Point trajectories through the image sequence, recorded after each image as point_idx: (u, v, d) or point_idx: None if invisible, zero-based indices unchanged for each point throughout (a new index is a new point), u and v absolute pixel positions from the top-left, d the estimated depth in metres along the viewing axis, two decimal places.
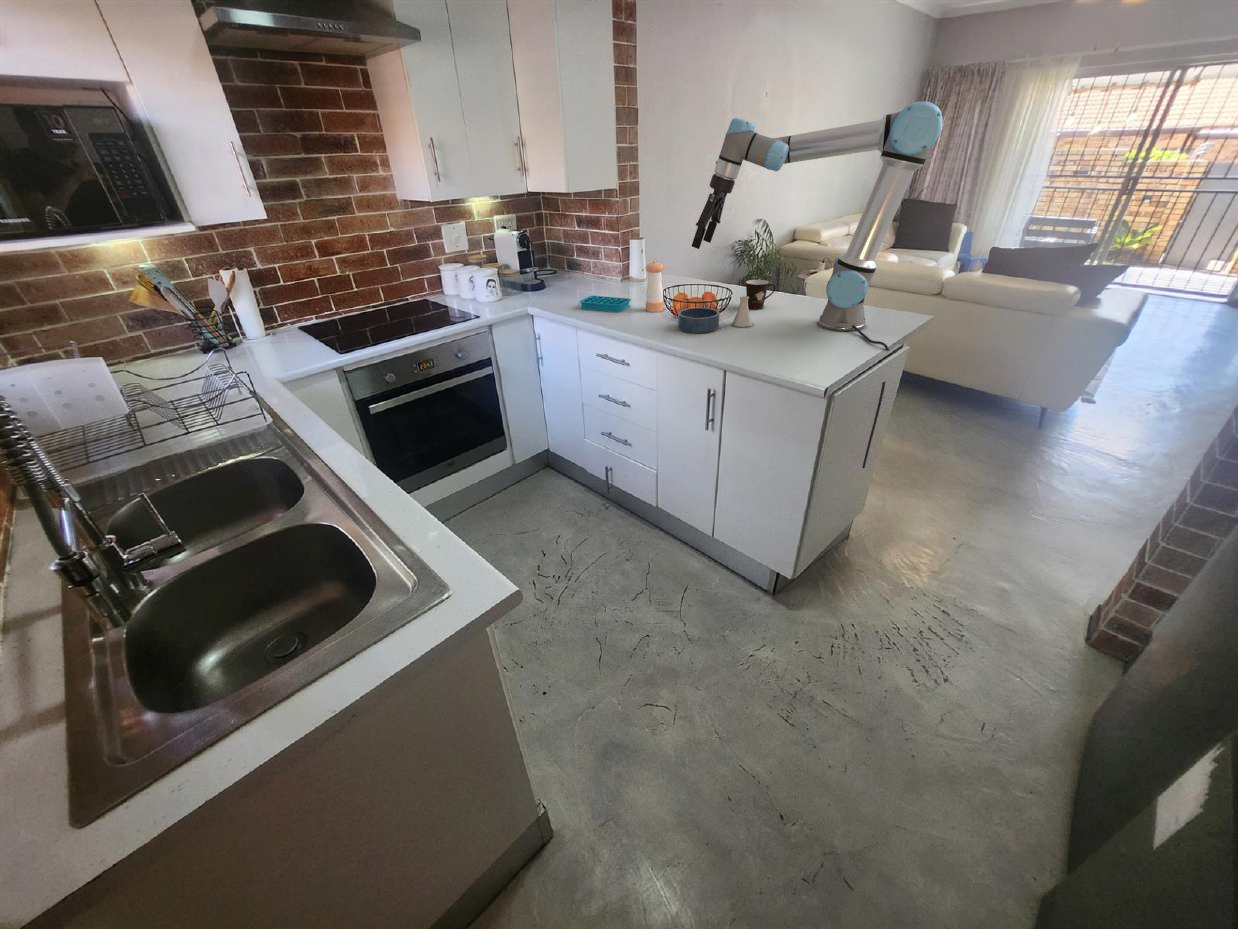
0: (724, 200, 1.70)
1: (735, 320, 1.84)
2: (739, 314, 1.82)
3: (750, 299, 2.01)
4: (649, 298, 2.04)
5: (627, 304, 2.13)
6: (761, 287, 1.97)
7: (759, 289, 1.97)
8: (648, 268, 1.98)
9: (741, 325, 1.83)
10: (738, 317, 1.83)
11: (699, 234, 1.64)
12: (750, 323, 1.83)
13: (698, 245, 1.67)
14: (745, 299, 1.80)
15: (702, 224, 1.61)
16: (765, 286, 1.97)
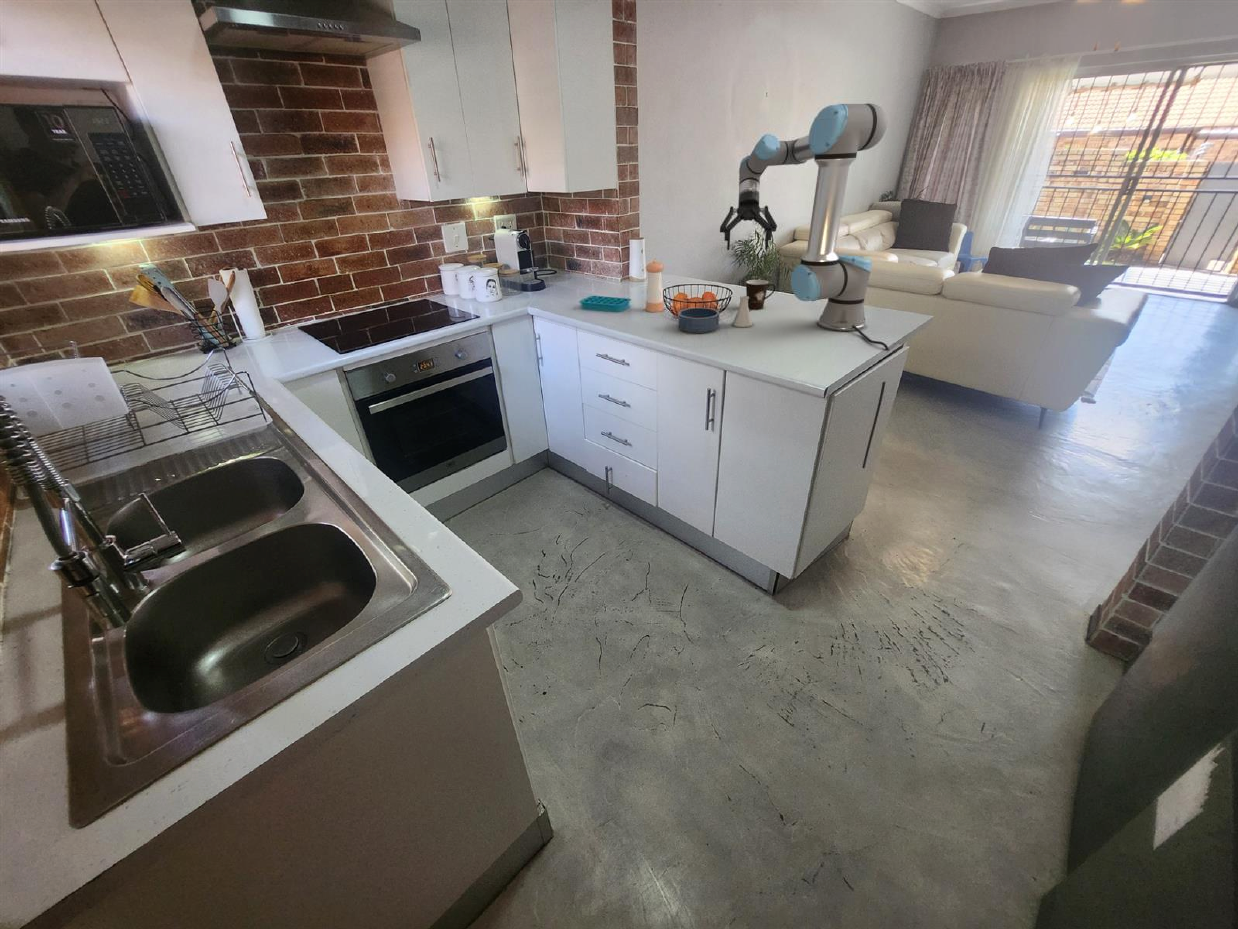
0: (766, 211, 1.84)
1: (735, 320, 1.84)
2: (739, 314, 1.82)
3: (750, 299, 2.01)
4: (649, 298, 2.04)
5: (627, 304, 2.13)
6: (761, 287, 1.97)
7: (759, 289, 1.97)
8: (648, 268, 1.98)
9: (741, 325, 1.83)
10: (738, 317, 1.83)
11: None
12: (750, 323, 1.83)
13: (727, 243, 1.84)
14: (745, 299, 1.80)
15: (720, 227, 1.86)
16: (765, 286, 1.97)
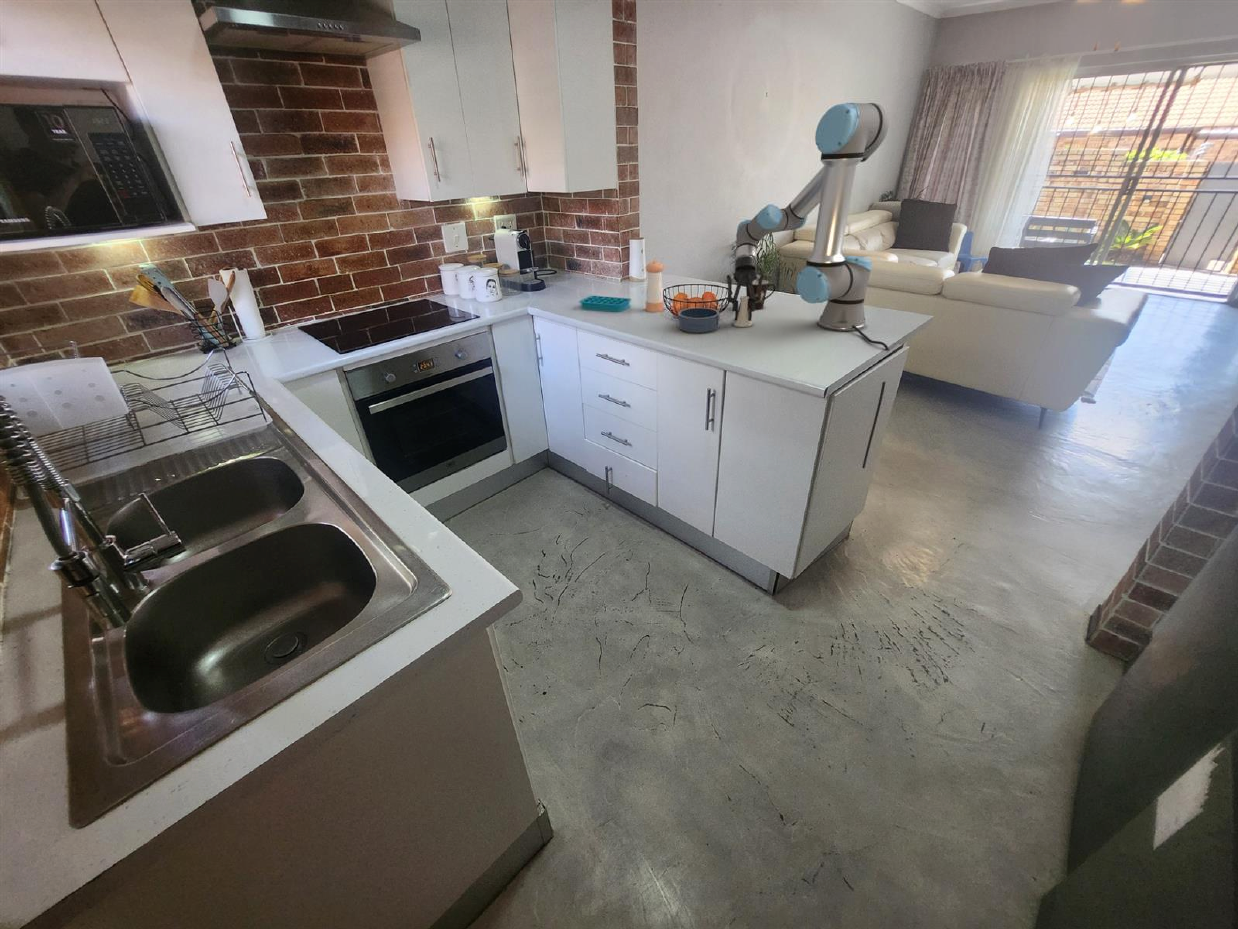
0: (760, 280, 1.82)
1: None
2: (739, 314, 1.82)
3: (750, 299, 2.01)
4: (649, 298, 2.04)
5: (627, 304, 2.13)
6: None
7: None
8: (648, 268, 1.98)
9: (741, 325, 1.83)
10: (738, 317, 1.83)
11: (732, 307, 1.82)
12: (750, 323, 1.83)
13: (735, 314, 1.81)
14: (745, 299, 1.80)
15: (728, 298, 1.83)
16: (765, 286, 1.97)
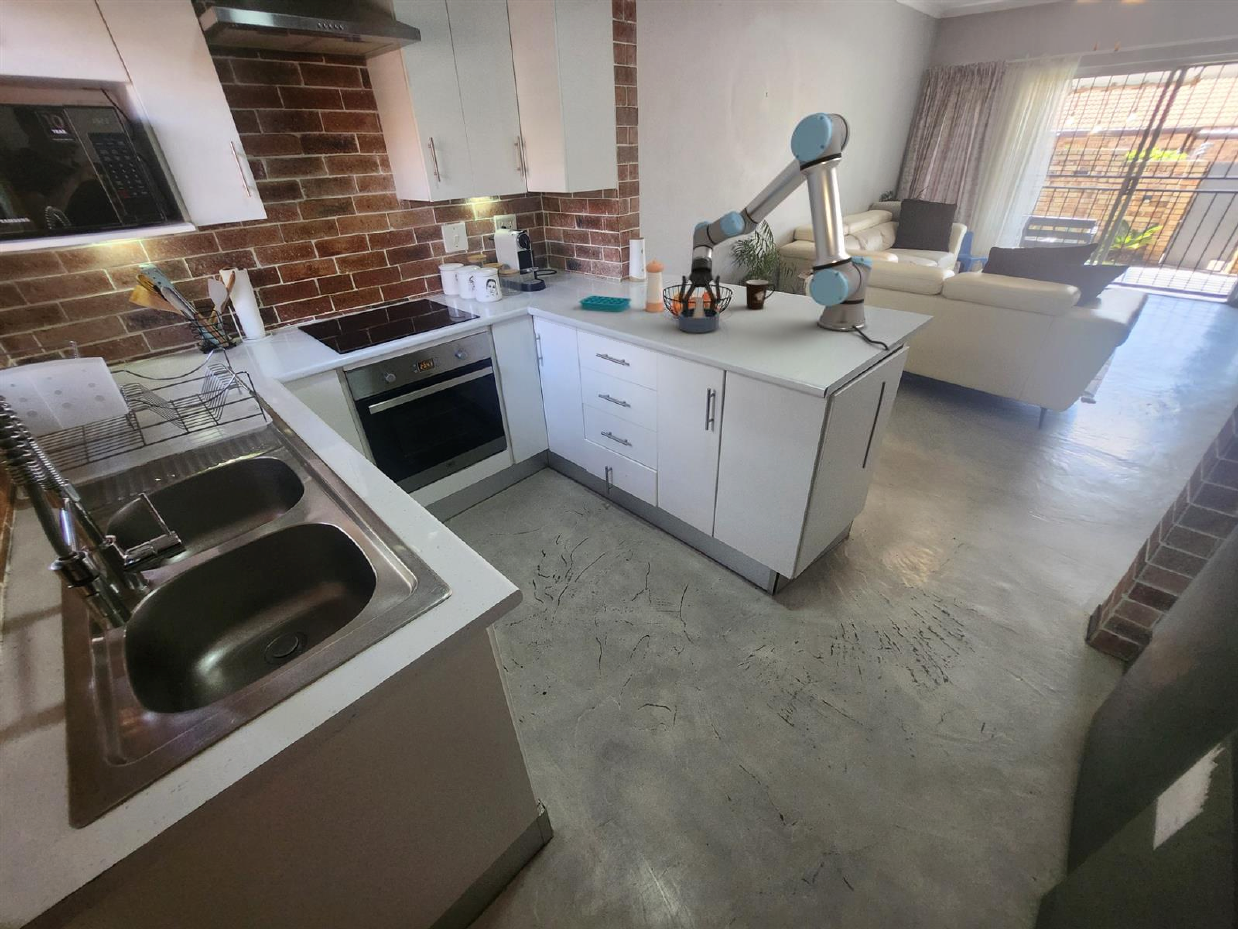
0: (717, 281, 1.81)
1: None
2: (694, 316, 1.81)
3: (750, 299, 2.01)
4: (649, 298, 2.04)
5: (627, 304, 2.13)
6: (761, 287, 1.97)
7: (759, 289, 1.97)
8: (648, 268, 1.98)
9: None
10: None
11: None
12: None
13: (685, 315, 1.80)
14: (700, 300, 1.78)
15: None
16: (765, 286, 1.97)
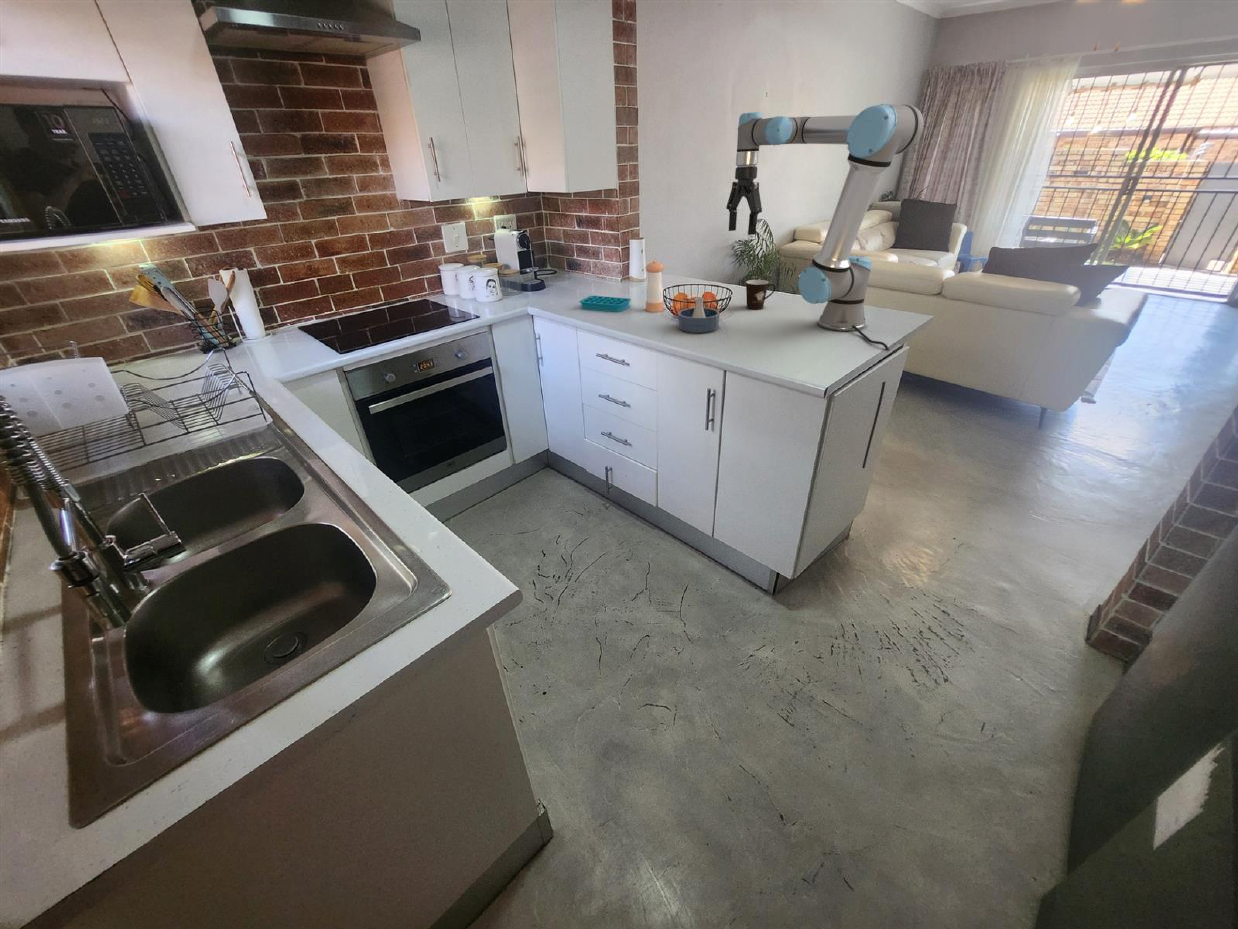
0: (751, 190, 1.75)
1: None
2: (694, 316, 1.81)
3: (750, 299, 2.01)
4: (649, 298, 2.04)
5: (627, 304, 2.13)
6: (761, 287, 1.97)
7: (759, 289, 1.97)
8: (648, 268, 1.98)
9: None
10: None
11: None
12: None
13: None
14: (700, 300, 1.78)
15: None
16: (765, 286, 1.97)
